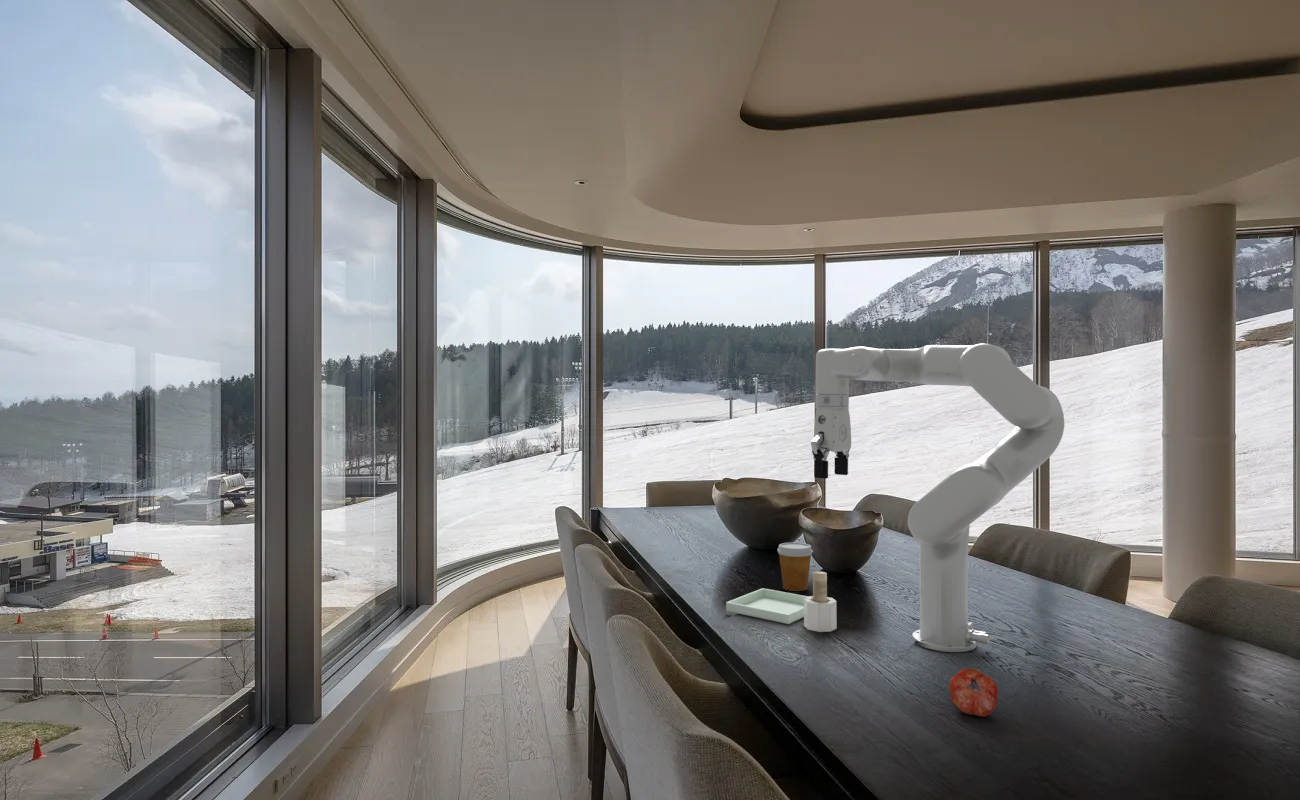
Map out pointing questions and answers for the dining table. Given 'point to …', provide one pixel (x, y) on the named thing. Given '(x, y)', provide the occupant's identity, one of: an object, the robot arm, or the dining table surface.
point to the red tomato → (973, 692)
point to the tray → (768, 605)
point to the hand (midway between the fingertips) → (831, 476)
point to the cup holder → (820, 615)
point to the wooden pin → (819, 587)
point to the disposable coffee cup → (795, 565)
